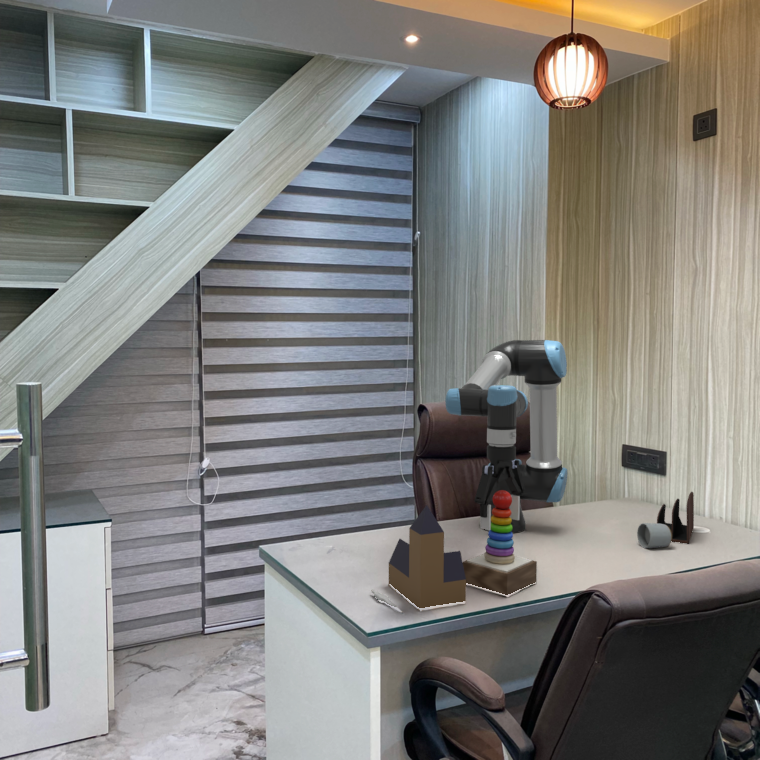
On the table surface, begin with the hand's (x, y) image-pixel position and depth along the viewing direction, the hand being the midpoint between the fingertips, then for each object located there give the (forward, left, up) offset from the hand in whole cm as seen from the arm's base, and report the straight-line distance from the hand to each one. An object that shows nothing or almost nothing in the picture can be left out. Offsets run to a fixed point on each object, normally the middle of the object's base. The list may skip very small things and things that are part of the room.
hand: (500, 524), depth 188 cm
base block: (0, 0, -16) cm, 16 cm away
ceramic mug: (+15, +62, -16) cm, 66 cm away
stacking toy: (0, 0, -10) cm, 10 cm away
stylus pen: (-12, -31, -17) cm, 37 cm away
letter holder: (+16, +80, -16) cm, 83 cm away
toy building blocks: (-9, -19, -16) cm, 27 cm away
